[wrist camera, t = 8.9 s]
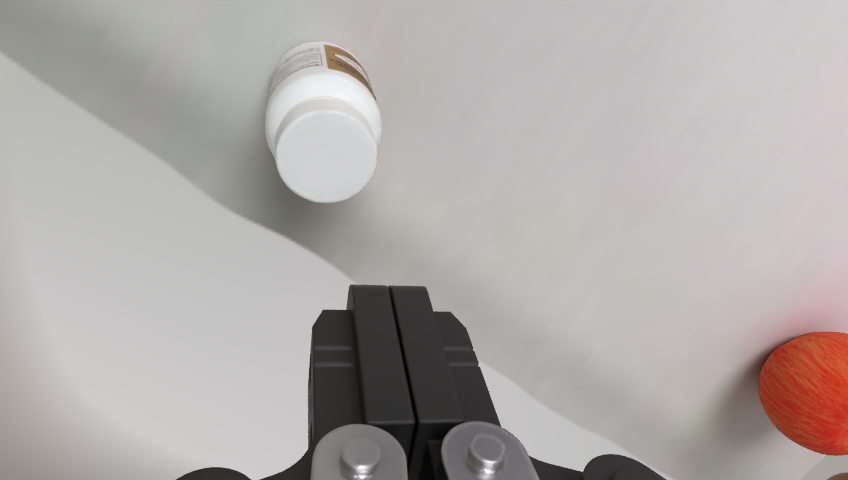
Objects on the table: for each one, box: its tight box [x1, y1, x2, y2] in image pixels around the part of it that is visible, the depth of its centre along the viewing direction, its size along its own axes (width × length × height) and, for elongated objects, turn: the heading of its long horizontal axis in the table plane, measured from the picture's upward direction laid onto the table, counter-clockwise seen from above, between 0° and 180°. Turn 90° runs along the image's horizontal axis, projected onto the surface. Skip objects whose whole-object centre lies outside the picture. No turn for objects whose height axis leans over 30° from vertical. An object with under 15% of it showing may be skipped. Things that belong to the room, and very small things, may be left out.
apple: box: [758, 332, 848, 456], centre depth 39 cm, size 8×8×8 cm
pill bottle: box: [265, 41, 382, 203], centre depth 23 cm, size 4×4×8 cm
